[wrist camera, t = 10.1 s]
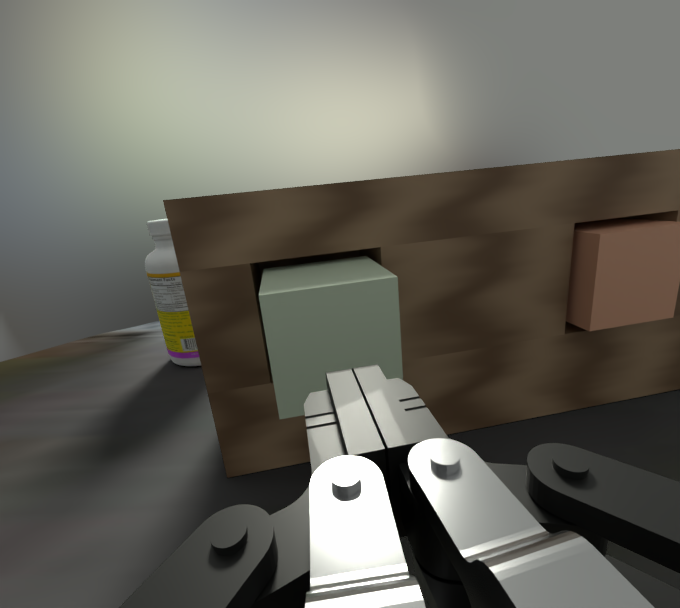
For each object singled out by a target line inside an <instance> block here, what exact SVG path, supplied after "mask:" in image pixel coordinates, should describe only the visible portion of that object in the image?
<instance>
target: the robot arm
mask: <svg viewBox="0 0 680 608" xmlns="http://www.w3.org/2000/svg"><path fill="white" fill-rule="evenodd" d="M326 384H327V390H324V391H318V392H312V393H310V394H309V396H308V397H307V399H306V401H305V403H304V411H305V419H306V427H307V435H308V444H309V452H310V460H311V468H312V477H311V481H310V484H309V486H308V488H307V489H306V491H305V492H304V493H303V495H302V496H301V497H300V498H299V499H298V500H296V501H295V502H294V503H292V504H291V505H289V506H287V507H286V508H284V509H282V510H280V511H278V512H276V513H274V514H272V515H270V516H269V514H268V513H267V512H266V511H265V510H263V509H262V508H260V507H258V506H255V505H249V504H240V505H234V506H231V507H227V508H225V509H223V510H220V511H218V512H217V513H215V514H213V515H212V516H210V517H209V518H208V519H206V520H205V521H204V522H203V523H202V524H201V525H200V526H199V527H198V528H197V529H196V530H195V531H194V532H193V533H192V534H191V535H190V536H189V537H188V538H187V539H186V540H185V541H184V542H183V543H182V544H181V545H180V546H179V547H178V548H177V549H176V550H175V551H174V552H173V553H172V554H171V555H170V556H169V557H168V558H167V559H166V560H165V561H164V562H163V563H162V564H161V565H160V566H159V567H158V568H157V569H156V570H155V571H154V573H153V574H152V575H151V576H150V577H149V578H148V579H147V580H146V581H145V582H144V583H143V584H142V585H141V586H140V587H139V588H138V589H137V590H136V591H135V592H134V593H133V594H132V595H131V596H130V597H129V598H128V599H127V600H126V601H125V602H124V603H123V604H122V605H121V606H120V607H119V608H426V607H425V604H424V600H423V597H422V594H421V590H420V587H419V585H418V582H419V584H420V586H421V589H422V591H423V593H424V595H425V598H426V600H427V602H428V604H429V607H430V608H680V590H679V589H677V588H675V587H673V586H671V585H669V584H667V583H665V582H663V581H661V580H659V579H657V578H655V577H653V576H650V575H648V574H646V573H644V572H642V571H640V570H638V569H636V568H634V567H632V566H630V565H628V564H626V563H624V562H622V561H620V560H618V559H616V558H613V557H611V556H609V555H607V554H606V549H607V543H608V540H609V541H611V542H614V543H616V544H618V545H620V546H622V547H624V548H627V549H629V550H631V551H633V552H635V553H637V554H639V555H642V556H644V557H646V558H648V559H650V560H652V561H655V562H657V563H659V564H661V565H663V566H665V567H667V568H670V569H672V570H674V571H676V572H678V573H680V482H678V481H676V480H673V479H670V478H667V477H664V476H661V475H658V474H655V473H652V472H649V471H646V470H643V469H640V468H637V467H634V466H632V465H629V464H626V463H623V462H620V461H617V460H614V459H611V458H608V457H605V456H602V455H599V454H596V453H593V452H590V451H588V450H585V449H582V448H579V447H575V446H572V445H567V444H561V443H546V444H541V445H538V446H536V447H534V448H533V449H531V450H530V452H529V453H528V456H527V465H514V464H496V463H488V462H484V461H483V460H482V459H481V458H480V457H479V456H478V455H477V453H476V452H475V451H473V450H472V449H471V448H470V447H468V446H467V445H465V444H463V443H460V442H458V441H455V440H451V439H449V438H448V436H447V435H446V434H445V432H444V431H443V429H442V428H441V426H440V425H439V424H438V422H437V421H436V419H435V418H434V416H433V415H432V414H431V412H430V411H429V409H428V408H426V405H425V404H424V402H423V401H422V399H421V398H419V395H418V394H417V392H416V391H415V389H414V388H413V387H412V385H410V384H408V383H406V382H405V381H403V380H401V379H400V378H394V379H388V380H387V379H386V377H385V376H384V374H383V372H382V371H381V369H380V367H379V366H378V364H374V365H368V366H361V367H355V368H352V370H351V368H350V369H344V370H337V371H331V372H326ZM403 536H408V539H409V542H410V544H411V547H412V551H413V567H414V572H415V575H416V577H417V580H418V582H417V580H416V578H415V576H414V575H410V574H409V572H408V569H407V565H406V562H405V558H404V554H403V550H402V547H401V543H400V539H399V537H403Z"/></svg>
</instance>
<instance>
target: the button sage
mask: <svg viewBox="0 0 680 608" xmlns="http://www.w3.org/2000/svg"><path fill="white" fill-rule="evenodd" d="M259 301H260V307H261V313H262V319H263V325H264V330H265V336H266V342H267V348H268V354H269V360H270V366H271V372H272V378H273V383H274V389H275V395H276V401H277V407H278V413H279V419H285V418H291V417H297V416H302V415H305V411H304V403H305V401H306V399H307V397H308V396H309V394H310V393H312V392H318V391H324V390H327V384H326V372H331V371H337V370H344V369H350V368H351V370H352V368H355V367H361V366H368V365H374V364H378V366H379V367H380V369H381V371H382V372H383V374H384V376H385V377H386V379H387V380H388V379H394V378H400V379H401V380H403V370H402V351H401V332H400V312H399V293H398V277H397V276H396V275H394V274H393V273H391V272H390V271H388V270H387V269H385V268H384V267H382V266H381V265H379V264H378V263H376V262H375V261H373V260H372V259H370V258H369V257H367V256H361V257H353V258H345V259H337V260H329V261H321V262H313V263H305V264H297V265H289V266H281V267H274V268H266V269H264V270H263V275H262V280H261V286H260V291H259Z"/></svg>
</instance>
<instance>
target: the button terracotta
mask: <svg viewBox="0 0 680 608" xmlns="http://www.w3.org/2000/svg"><path fill="white" fill-rule="evenodd" d="M679 283H680V222H675V221H659V220H643V219H626V218H612V219H604V220H595V221H587V222H579V223H574V234H573V245H572V257H571V268H570V279H569V290H568V301H567V312H566V321H567V322H569V323H571V324H574V325H576V326H578V327H581V328H583V329H585V330H587V331H595V330H601V329H607V328H613V327H619V326H625V325H631V324H637V323H643V322H649V321H655V320H661V319H667V318H673V316H674V311H675V305H676V300H677V294H678V289H679Z"/></svg>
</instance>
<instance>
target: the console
mask: <svg viewBox="0 0 680 608" xmlns="http://www.w3.org/2000/svg"><path fill="white" fill-rule="evenodd" d="M163 202H164V206H165V211H166V215H167V219H168V224H169V228H170V232H171V237H172V241H173V245H174V250H175V254H176V258H177V263H178V267H179V271H180V276H181V280H182V284H183V288H184V293H185V297H186V301H187V306H188V310H189V314H190V319H191V323H192V327H193V332H194V336H195V340H196V345H197V349H198V353H199V358H200V362H201V366H202V370H203V375H204V379H205V383H206V388H207V392H208V396H209V401H210V405H211V409H212V414H213V418H214V422H215V427H216V431H217V435H218V440H219V444H220V448H221V452H222V457H223V461H224V465H225V470H226V474H227V478H229V477H234V476H239V475H244V474H249V473H254V472H259V471H265V470H270V469H275V468H280V467H285V466H290V465H295V464H300V463H305V462H311V460H310V452H309V444H308V435H307V427H306V419H305V415H302V416H297V417H291V418H285V419H279V413H278V407H277V401H276V395H275V389H274V383H273V378H272V372H271V366H270V360H269V354H268V348H267V342H266V336H265V330H264V325H263V319H262V313H261V307H260V301H259V291H260V286H261V280H262V275H263V270H264V269H266V268H274V267H281V266H289V265H297V264H305V263H313V262H321V261H329V260H337V259H345V258H353V257H361V256H367V257H369V258H370V259H372V260H373V261H375V262H376V263H378V264H379V265H381V266H382V267H384V268H385V269H387V270H388V271H390V272H391V273H393V274H394V275H396V276H397V277H398V293H399V312H400V332H401V351H402V370H403V381H405V382H406V383H408V384H410V385H412V387H413V388H414V389H415V391H416V392H417V394H418V395H419V398H421V399H422V401H423V402H424V404H425V405H426V408H428V409H429V411H430V412H431V414H432V415H433V416H434V418H435V419H436V421H437V422H438V424H439V425H440V426H441V428H442V429H443V431H444V432H445V434H446V435H448V434H453V433H459V432H464V431H469V430H474V429H479V428H484V427H489V426H494V425H499V424H505V423H510V422H515V421H520V420H525V419H530V418H535V417H540V416H545V415H550V414H556V413H561V412H566V411H571V410H576V409H581V408H586V407H591V406H596V405H602V404H607V403H612V402H617V401H622V400H627V399H632V398H637V397H642V396H647V395H653V394H658V393H663V392H668V391H673V390H678V389H680V283H679V289H678V294H677V300H676V305H675V311H674V316H673V318H667V319H661V320H655V321H649V322H643V323H637V324H631V325H625V326H619V327H613V328H607V329H601V330H595V331H587V330H585V329H583V328H581V327H578V326H576V325H574V324H571V323H569V322H567V321H566V312H567V301H568V290H569V279H570V268H571V257H572V245H573V234H574V223H579V222H587V221H595V220H604V219H612V218H626V219H643V220H659V221H675V222H680V149H676V150H666V151H656V152H647V153H635V154H625V155H616V156H606V157H595V158H586V159H575V160H565V161H556V162H545V163H535V164H526V165H515V166H505V167H494V168H484V169H474V170H464V171H454V172H444V173H434V174H425V175H414V176H405V177H394V178H384V179H374V180H364V181H354V182H343V183H334V184H324V185H313V186H303V187H294V188H283V189H273V190H263V191H254V192H244V193H233V194H223V195H213V196H202V197H192V198H182V199H173V200H163Z"/></svg>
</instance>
